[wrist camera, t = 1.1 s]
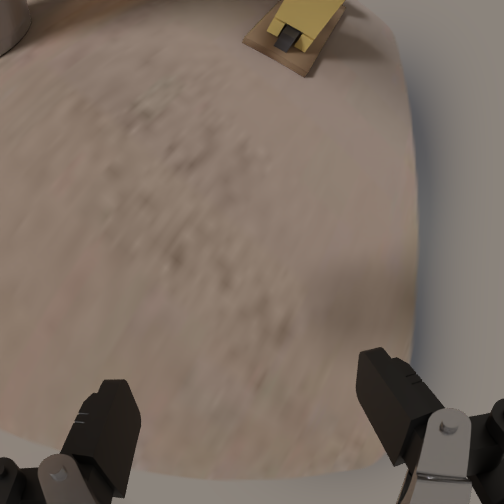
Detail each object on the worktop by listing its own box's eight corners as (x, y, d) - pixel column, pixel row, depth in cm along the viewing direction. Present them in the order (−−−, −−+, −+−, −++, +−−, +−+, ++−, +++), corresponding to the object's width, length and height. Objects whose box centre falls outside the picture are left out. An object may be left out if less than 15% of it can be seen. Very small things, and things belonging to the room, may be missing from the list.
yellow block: (266, 31, 29) (305, -35, 19) (282, 13, 30) (318, -45, 20) (304, 52, 30) (351, -8, 20) (316, 33, 31) (360, -21, 21)
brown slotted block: (242, 42, 29) (259, 5, 23) (298, -15, 34) (315, -41, 28) (304, 77, 31) (329, 45, 25) (343, 11, 36) (362, -13, 30)
